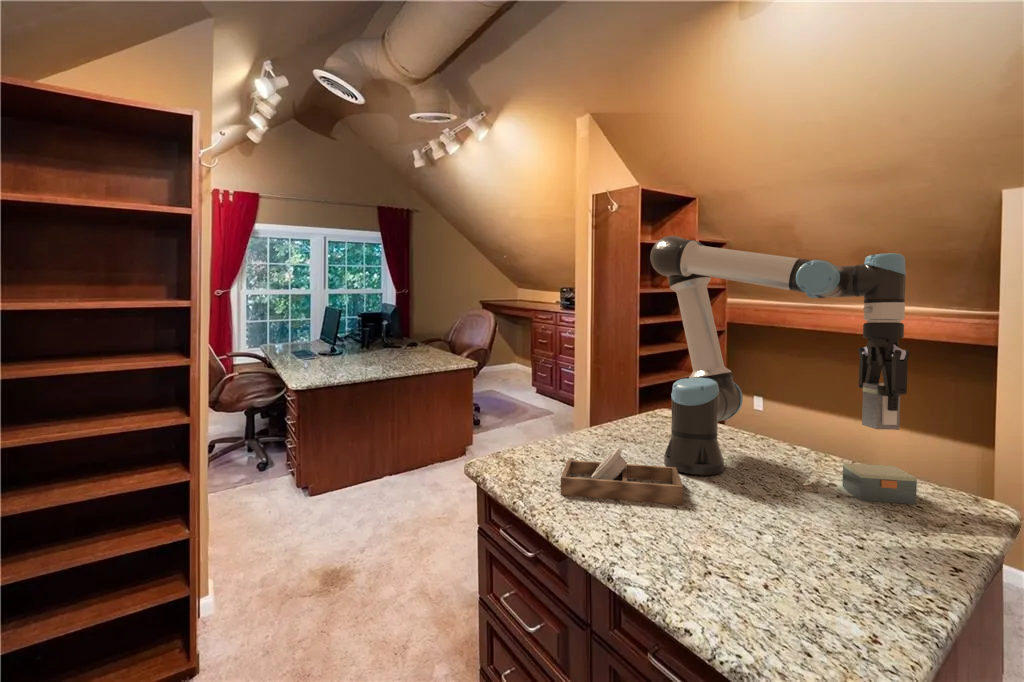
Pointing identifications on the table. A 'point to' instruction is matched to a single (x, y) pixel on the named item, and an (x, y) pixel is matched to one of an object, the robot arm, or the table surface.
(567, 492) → the parts corral
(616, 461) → the beige piece
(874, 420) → the column
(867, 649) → the table surface
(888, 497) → the grey-green storage box
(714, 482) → the table surface
